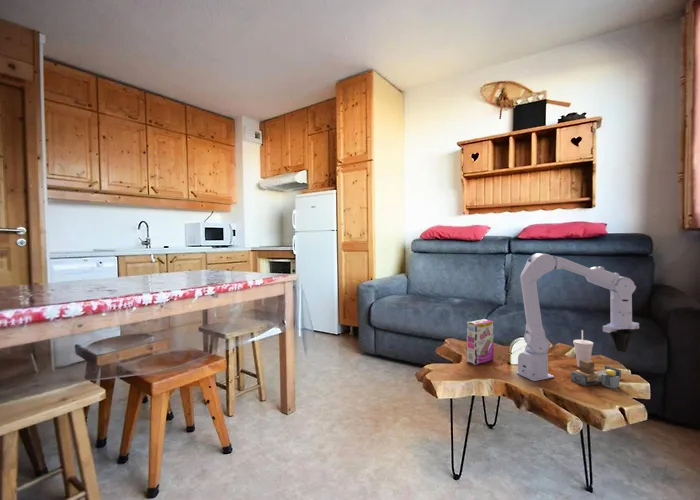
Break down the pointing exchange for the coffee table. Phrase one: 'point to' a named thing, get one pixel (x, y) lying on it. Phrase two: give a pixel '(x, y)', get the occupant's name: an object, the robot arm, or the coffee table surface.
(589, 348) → the smoothie
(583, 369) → the carriage
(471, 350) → the candy bar box
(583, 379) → the rail
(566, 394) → the coffee table surface
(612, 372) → the gauge button
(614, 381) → the post
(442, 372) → the coffee table surface
